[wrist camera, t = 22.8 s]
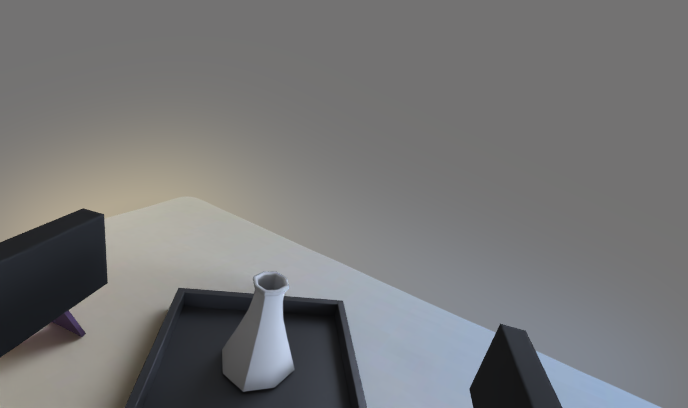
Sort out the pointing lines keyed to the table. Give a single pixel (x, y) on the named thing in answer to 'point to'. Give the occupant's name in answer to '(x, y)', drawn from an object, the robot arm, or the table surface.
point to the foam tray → (214, 332)
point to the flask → (260, 339)
